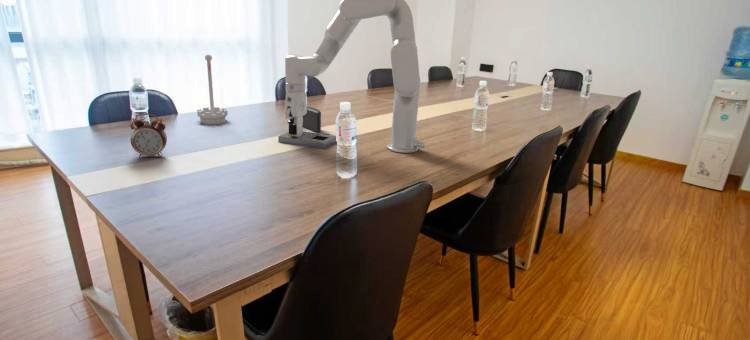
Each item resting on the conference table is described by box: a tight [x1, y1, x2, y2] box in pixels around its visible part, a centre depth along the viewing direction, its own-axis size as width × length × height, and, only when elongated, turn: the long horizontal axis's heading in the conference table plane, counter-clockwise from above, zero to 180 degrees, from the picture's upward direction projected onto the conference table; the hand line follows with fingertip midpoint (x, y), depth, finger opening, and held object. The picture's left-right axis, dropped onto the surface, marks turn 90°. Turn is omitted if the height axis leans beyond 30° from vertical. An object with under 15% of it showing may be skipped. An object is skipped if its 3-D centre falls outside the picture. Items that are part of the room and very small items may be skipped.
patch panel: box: [278, 130, 337, 150], centre depth 174 cm, size 20×12×3 cm, turn 71°
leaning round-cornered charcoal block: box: [303, 106, 322, 134], centre depth 193 cm, size 16×5×9 cm, turn 39°
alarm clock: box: [129, 113, 168, 159], centre depth 145 cm, size 11×5×15 cm, turn 105°
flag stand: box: [196, 54, 228, 125], centre depth 194 cm, size 13×13×30 cm
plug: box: [289, 116, 304, 137], centre depth 174 cm, size 5×4×11 cm
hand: (295, 132), depth 175 cm, fingers open, 4 cm apart
